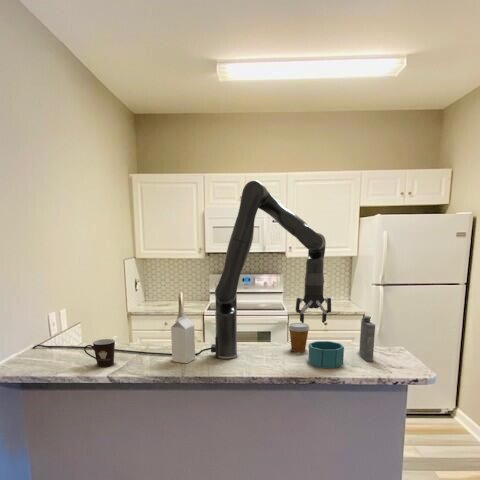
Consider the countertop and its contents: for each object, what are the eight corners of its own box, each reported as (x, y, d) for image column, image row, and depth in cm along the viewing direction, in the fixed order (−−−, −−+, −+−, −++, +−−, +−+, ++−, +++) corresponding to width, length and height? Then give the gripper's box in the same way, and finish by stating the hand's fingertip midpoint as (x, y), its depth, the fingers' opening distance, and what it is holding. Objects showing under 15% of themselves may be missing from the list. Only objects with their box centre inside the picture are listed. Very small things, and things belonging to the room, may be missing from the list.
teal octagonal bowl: (311, 368, 163) (312, 350, 161) (306, 357, 176) (307, 341, 175) (345, 368, 163) (346, 350, 161) (338, 358, 176) (338, 341, 174)
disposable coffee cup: (308, 347, 192) (308, 322, 190) (309, 353, 183) (310, 327, 181) (287, 347, 193) (288, 322, 191) (288, 352, 184) (288, 327, 182)
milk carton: (195, 359, 175) (194, 316, 171) (186, 363, 169) (185, 319, 165) (181, 357, 178) (179, 314, 174) (172, 361, 172) (170, 317, 168)
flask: (364, 361, 171) (367, 320, 167) (356, 351, 185) (359, 313, 181) (373, 361, 171) (376, 320, 167) (364, 351, 185) (367, 313, 181)
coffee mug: (120, 362, 170) (119, 339, 168) (107, 369, 162) (106, 345, 160) (97, 360, 174) (95, 337, 172) (84, 366, 166) (82, 342, 164)
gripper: (329, 282, 167) (328, 320, 170) (295, 282, 167) (294, 320, 171) (333, 284, 160) (332, 324, 163) (297, 284, 160) (296, 324, 163)
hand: (312, 322), depth 167 cm, fingers open, 8 cm apart
